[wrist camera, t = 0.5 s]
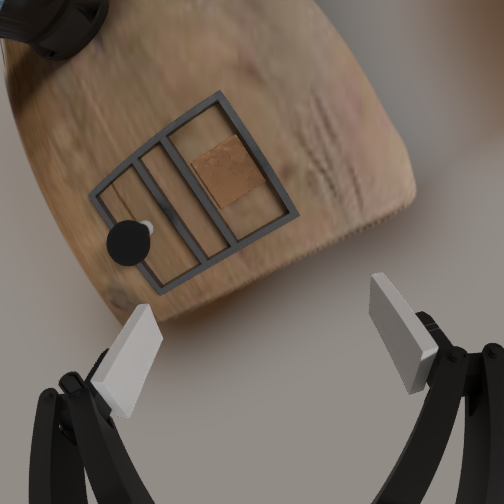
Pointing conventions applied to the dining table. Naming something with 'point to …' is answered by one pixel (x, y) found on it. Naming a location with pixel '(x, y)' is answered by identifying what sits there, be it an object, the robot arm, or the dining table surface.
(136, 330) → the robot arm
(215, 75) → the dining table surface
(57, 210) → the dining table surface
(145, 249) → the light bulb
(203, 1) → the dining table surface
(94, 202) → the gray divided frame
